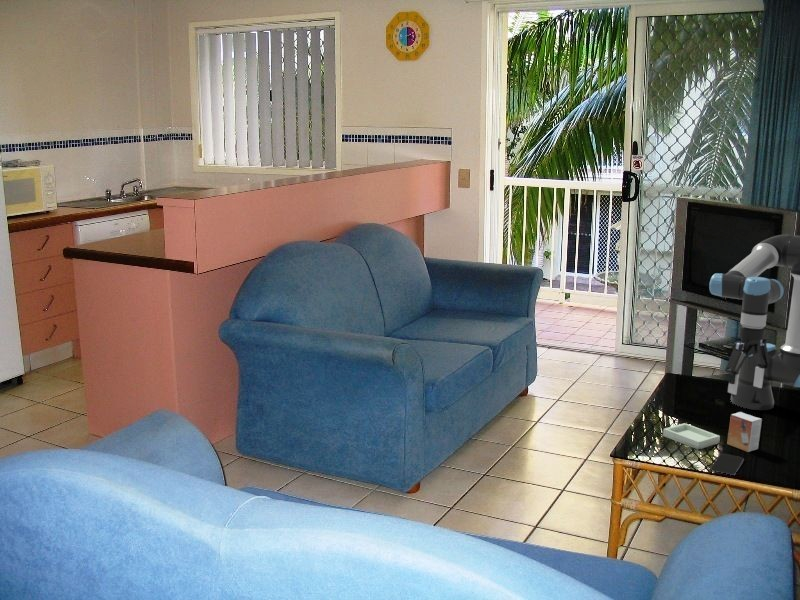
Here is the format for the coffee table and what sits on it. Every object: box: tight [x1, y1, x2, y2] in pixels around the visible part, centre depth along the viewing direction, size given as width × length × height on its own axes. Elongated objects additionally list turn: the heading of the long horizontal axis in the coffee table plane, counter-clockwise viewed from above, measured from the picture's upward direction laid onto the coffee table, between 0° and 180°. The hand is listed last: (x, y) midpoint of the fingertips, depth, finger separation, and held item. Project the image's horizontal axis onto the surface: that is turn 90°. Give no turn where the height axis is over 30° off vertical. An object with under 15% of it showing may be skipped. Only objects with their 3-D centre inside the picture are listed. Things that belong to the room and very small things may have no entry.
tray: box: [662, 422, 721, 450], centre depth 288 cm, size 11×14×2 cm
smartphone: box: [709, 453, 745, 476], centre depth 267 cm, size 7×1×15 cm
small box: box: [726, 411, 763, 453], centre depth 282 cm, size 8×6×10 cm
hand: (745, 390), depth 279 cm, fingers open, 13 cm apart
